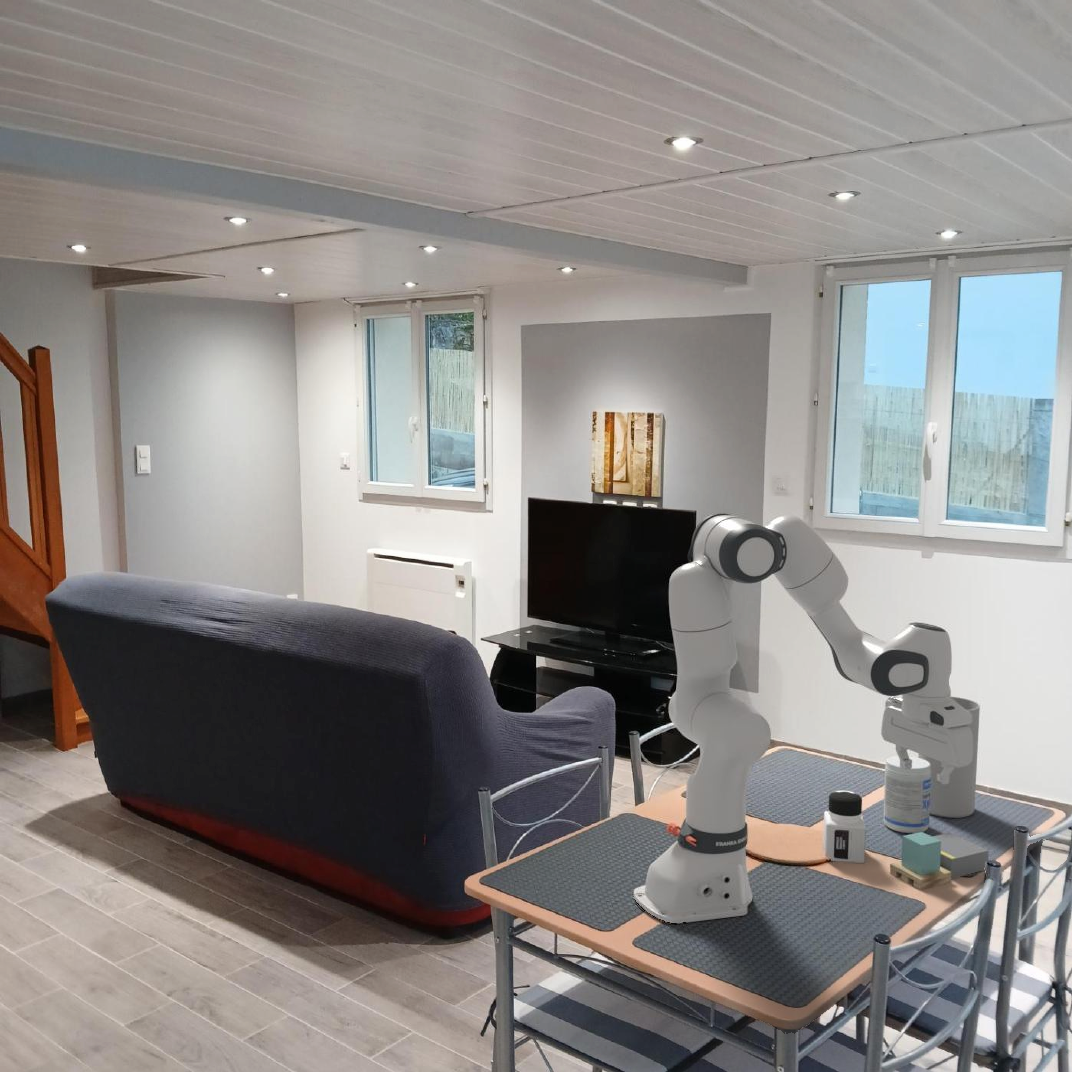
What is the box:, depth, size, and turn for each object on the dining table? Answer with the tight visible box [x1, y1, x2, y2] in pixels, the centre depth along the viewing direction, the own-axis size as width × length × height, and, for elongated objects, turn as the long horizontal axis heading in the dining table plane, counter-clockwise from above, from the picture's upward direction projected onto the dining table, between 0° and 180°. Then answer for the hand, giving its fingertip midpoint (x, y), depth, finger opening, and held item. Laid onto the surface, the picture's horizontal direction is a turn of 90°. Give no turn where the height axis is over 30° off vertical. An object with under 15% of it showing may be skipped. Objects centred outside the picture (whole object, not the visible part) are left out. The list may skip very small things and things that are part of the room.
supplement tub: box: [883, 755, 931, 834], centre depth 233 cm, size 10×10×15 cm
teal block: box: [901, 832, 941, 875], centre depth 207 cm, size 5×5×6 cm
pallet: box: [889, 860, 952, 890], centre depth 208 cm, size 8×8×2 cm
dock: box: [932, 832, 989, 880], centre depth 214 cm, size 10×10×4 cm
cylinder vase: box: [917, 696, 981, 819], centre depth 243 cm, size 12×12×25 cm
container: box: [822, 790, 867, 864], centre depth 218 cm, size 8×8×13 cm
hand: (924, 775), depth 206 cm, fingers open, 8 cm apart
